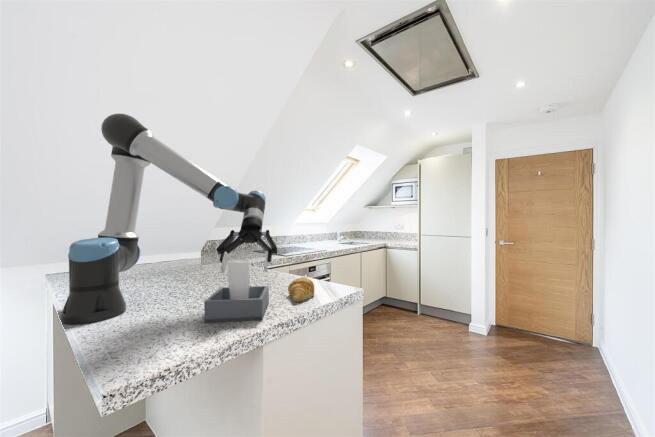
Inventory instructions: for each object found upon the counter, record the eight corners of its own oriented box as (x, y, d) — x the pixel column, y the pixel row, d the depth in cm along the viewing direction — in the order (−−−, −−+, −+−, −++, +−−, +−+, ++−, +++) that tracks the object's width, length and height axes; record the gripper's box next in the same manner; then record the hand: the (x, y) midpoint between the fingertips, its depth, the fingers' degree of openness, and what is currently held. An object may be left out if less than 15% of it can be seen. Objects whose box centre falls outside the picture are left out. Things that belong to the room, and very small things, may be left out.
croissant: (304, 314, 93) (315, 294, 92) (278, 300, 94) (289, 280, 93) (312, 295, 114) (321, 278, 114) (291, 284, 115) (299, 267, 114)
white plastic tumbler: (223, 312, 83) (223, 262, 83) (234, 305, 89) (234, 259, 89) (245, 312, 82) (244, 262, 82) (254, 305, 88) (253, 259, 88)
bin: (204, 322, 77) (204, 301, 77) (220, 305, 93) (220, 287, 93) (262, 320, 78) (262, 299, 78) (268, 303, 94) (268, 285, 94)
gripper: (286, 229, 107) (283, 275, 92) (220, 229, 105) (207, 277, 90) (285, 215, 102) (282, 262, 87) (216, 215, 100) (201, 263, 85)
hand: (244, 269), depth 89 cm, fingers open, 13 cm apart
